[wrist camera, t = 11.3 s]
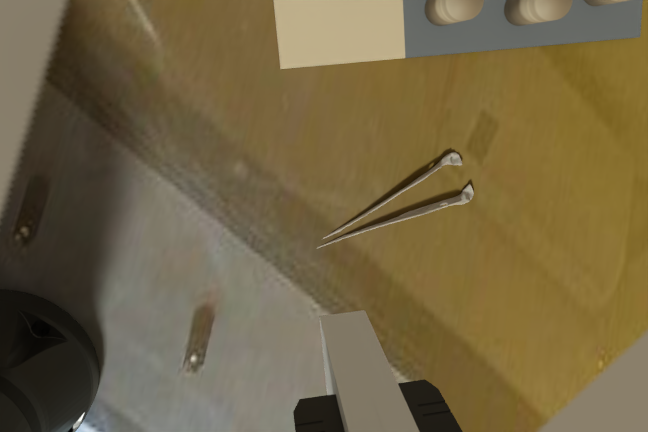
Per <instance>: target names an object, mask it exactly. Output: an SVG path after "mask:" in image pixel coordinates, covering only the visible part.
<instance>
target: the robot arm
mask: <svg viewBox="0 0 648 432" xmlns="http://www.w3.org/2000/svg"><path fill="white" fill-rule="evenodd" d="M319 318H320V328H321V338H322V348H323V358H324V368H325V378H326V388H327V394H328V395H326V396H319V397H312V398H306V399H300V400H299V402H298V404H297V406H296V408H295V410H294V421H295V430H296V432H462V430H461V428H460V427H459V425H458V423H457V421H456V419H455V418H454V416H453V414H452V413H451V412H450V409H449V407H448V405H447V404H446V403H445V400H444V398H443V397H442V395H441V393H440V391H439V390H438V388H436V387H435V386H433V385H432V384H431V383H429V382H428V381H426V380H419V381H412V382H405V383H399V384H398V383H397V381H396V378H395V376H394V374H393V372H392V370H391V367H390V365H389V363H388V361H387V358H386V356H385V354H384V352H383V350H382V347H381V345H380V343H379V341H378V338H377V336H376V334H375V332H374V330H373V327H372V325H371V323H370V321H369V318H368V316H367V314H366V312H365V310H363V311H355V312H348V313H340V314H333V315H325V316H319ZM98 383H99V365H98V360H97V356H96V353H95V350H94V347H93V345H92V343H91V341H90V339H89V337H88V336H87V334H86V333H85V331H84V330H83V329H82V327H81V326H80V325H79V324H78V323H77V322H76V321H75V320H74V319H73V318H72V317H71V316H70V315H69V314H67V313H66V312H65V311H63V310H62V309H61V308H59V307H57V306H56V305H54V304H52V303H50V302H48V301H46V300H44V299H42V298H39V297H37V296H34V295H30V294H27V293H23V292H17V291H10V290H0V432H75V431H76V430H77V429H78V428H79V426H80V425H81V424H82V422H83V420H84V419H85V417H86V415H87V413H88V411H89V409H90V407H91V405H92V403H93V401H94V398H95V396H96V392H97V389H98Z"/></svg>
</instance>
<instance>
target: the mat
mask: <svg viewBox="0 0 648 432" xmlns="http://www.w3.org/2000/svg"><path fill="white" fill-rule="evenodd" d="M273 1H274V11H275V20H276V30H277V40H278V50H279V59H280V69H287V68H298V67H309V66H321V65H332V64H343V63H354V62H366V61H377V60H388V59H399V58H410V57H422V56H433V55H444V54H455V53H467V52H478V51H489V50H500V49H512V48H523V47H534V46H545V45H556V44H568V43H579V42H590V41H601V40H613V39H624V38H635V37H640V30H641V15H642V0H629V1H623V2H618V3H612V4H607V5H601V6H590V5H588V4H587V3H586V2H585V1H584V0H572V5H571V8H570V10H569V12H568V13H567V14H566V15H565V16H564V17H562V18H561V19H558V20H553V21H547V22H541V23H534V24H528V25H522V26H515V25H512V24H511V23H509V22H508V21H507V19H506V17H505V15H504V6H505V3H506V1H507V0H484V4H483V7H482V9H481V11H480V12H479V14H478V15H477V16H476V17H474V18H472V19H470V20H466V21H461V22H457V23H452V24H448V25H444V26H436V25H433V24H432V23H430V22H429V21H428V19H427V18H426V15H425V3H426V1H427V0H273Z"/></svg>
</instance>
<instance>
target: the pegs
mask: <svg viewBox="0 0 648 432" xmlns="http://www.w3.org/2000/svg"><path fill="white" fill-rule="evenodd" d="M584 1H585V2H586V3H587V4H588V5H590V6H601V5H607V4H612V3H618V2H623V1H629V0H584ZM483 4H484V0H427V1H426V3H425V15H426V18H427V19H428V21H429V22H430V23H432V24H433V25H436V26H444V25H448V24H452V23H457V22H461V21H466V20H470V19H472V18H474V17H476V16H477V15H478V14H479V12H480V11H481V9H482V7H483ZM571 5H572V0H507V1H506V3H505V6H504V15H505V17H506V19H507V21H508V22H509V23H511V24H512V25H515V26H522V25H528V24H534V23H541V22H547V21H553V20H558V19H561V18H562V17H564V16H565V15H566V14H567V13H568V12H569V10H570V8H571Z"/></svg>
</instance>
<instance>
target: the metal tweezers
mask: <svg viewBox="0 0 648 432" xmlns="http://www.w3.org/2000/svg"><path fill="white" fill-rule="evenodd" d="M446 164H450V165H462V162H461V158H460V157H459V154H457V153H456V152H452V153H449V154H447V155H446V156H445V157H443V158H442V159H441V160H440V162H439V163H438V164H436V165H435V166H434V167H433V168H432V169H431V170H429V171H428V172H426V173H425V174H423V175H422V176H420V177H419V178H417V179H416V180H414V181H413V182H412V183H410V184H409V185H407V186H406V187H404V188H403V189H401V190H400V191H398V192H397V193H395V194H393V195H392V196H390V197H389V198H387V199H386V200H384V201H383V202H381V203H379V204H378V205H376V206H375V207H373V208H372V209H370V210H369V211H367V212H365V213H364V214H362V215H361V216H359V217H357V218H356V219H354V220H352V221H351V222H349V223H347V224H346V225H344V226H342V227H340V228H339V229H337V230H335V231H334V232H332V233H330V234H329V235H327V236H326V237H324V238H327V237H329V236H331V235H333V234H335V233H337V232H339V231H341V230H342V229H344V228H345V227H347V226H349V225H351V224H353V223H354V222H356V221H357V220H359V219H361V218H363V217H364V216H366V215H368V214H369V213H371V212H372V211H374V210H376V209H377V208H379V207H381V206H382V205H384V204H385V203H387V202H388V201H390V200H391V199H393V198H394V197H396V196H397V195H399V194H400V193H402V192H403V191H405V190H407V189H408V188H410V187H412V186H414V185H416V184H418V183H419V182H421V181H422V180H424V179H425V178H426V177H428V176H429V175H431V174H432V173H433V172H435V171H436V170H438V169H439V168H441V167H442V166H443V165H446ZM473 194H474V191H473V188H472V187H471V185H470V184H469V185H468V186H467V187H466V188H465V189H464V190H463V192H462V193H461V194H460V195H458V196H456V197H453V198H449V199H446V200H443V201H440V202H437V203H433V204H430V205H427V206H424V207H421V208H418V209H415V210H412V211H409V212H406V213H404V214H402V215H400V216H398V217H395V218H393V219H390V220H388V221H385V222H382V223H378V224H376V225H372V226H369V227H366V228H364V229H361V230H359V231H355V232H353V233H351V234H347V235H343V236H342V237H339V238H337V239H335V240H332V241H330V242H328V243H326V244H323V245H321V246H319V247H318V248H320V247H323V246H325V245H328V244H331V243H333V242H336V241H339V240H341V239H345V238H347V237H350V236H355V235H357V234H359V233H363V232H365V231H368V230H372V229H375V228H378V227H381V226H385V225H388V224H391V223H395V222H399V221H402V220H406V219H409V218H413V217H416V216H420V215H424V214H427V213H431V212H433V211H435V210H438V209H441V208H444V207H448V206H451V205H456V204H458V205H462V204H464V203H467V202H470V201H469V200H471V199H472V197H473ZM443 204H448V205H445V206H440V205H443ZM324 238H323V239H324ZM321 240H322V239H321Z"/></svg>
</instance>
